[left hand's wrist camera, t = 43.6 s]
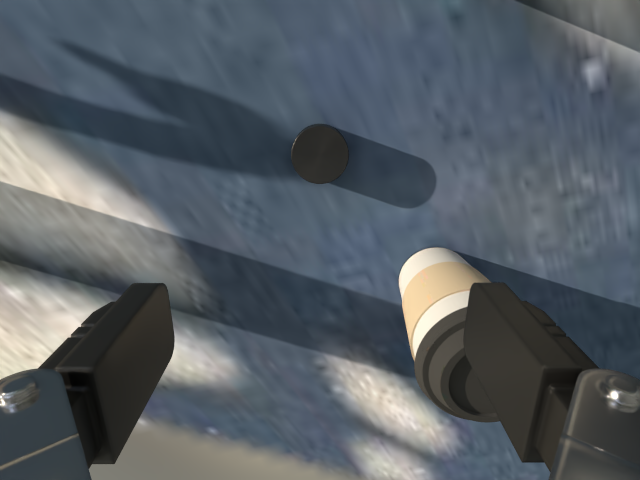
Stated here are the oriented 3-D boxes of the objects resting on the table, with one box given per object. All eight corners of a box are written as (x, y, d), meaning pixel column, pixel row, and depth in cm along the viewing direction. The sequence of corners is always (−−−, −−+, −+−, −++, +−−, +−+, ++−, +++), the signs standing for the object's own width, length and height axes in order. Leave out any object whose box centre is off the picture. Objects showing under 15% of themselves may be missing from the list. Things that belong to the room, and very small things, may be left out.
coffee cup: (434, 336, 43) (490, 462, 29) (367, 286, 41) (393, 394, 27) (501, 274, 40) (598, 378, 26) (433, 217, 38) (500, 296, 24)
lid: (318, 111, 35) (318, 113, 33) (358, 150, 36) (360, 154, 34) (281, 153, 36) (279, 156, 34) (321, 189, 37) (321, 195, 36)
